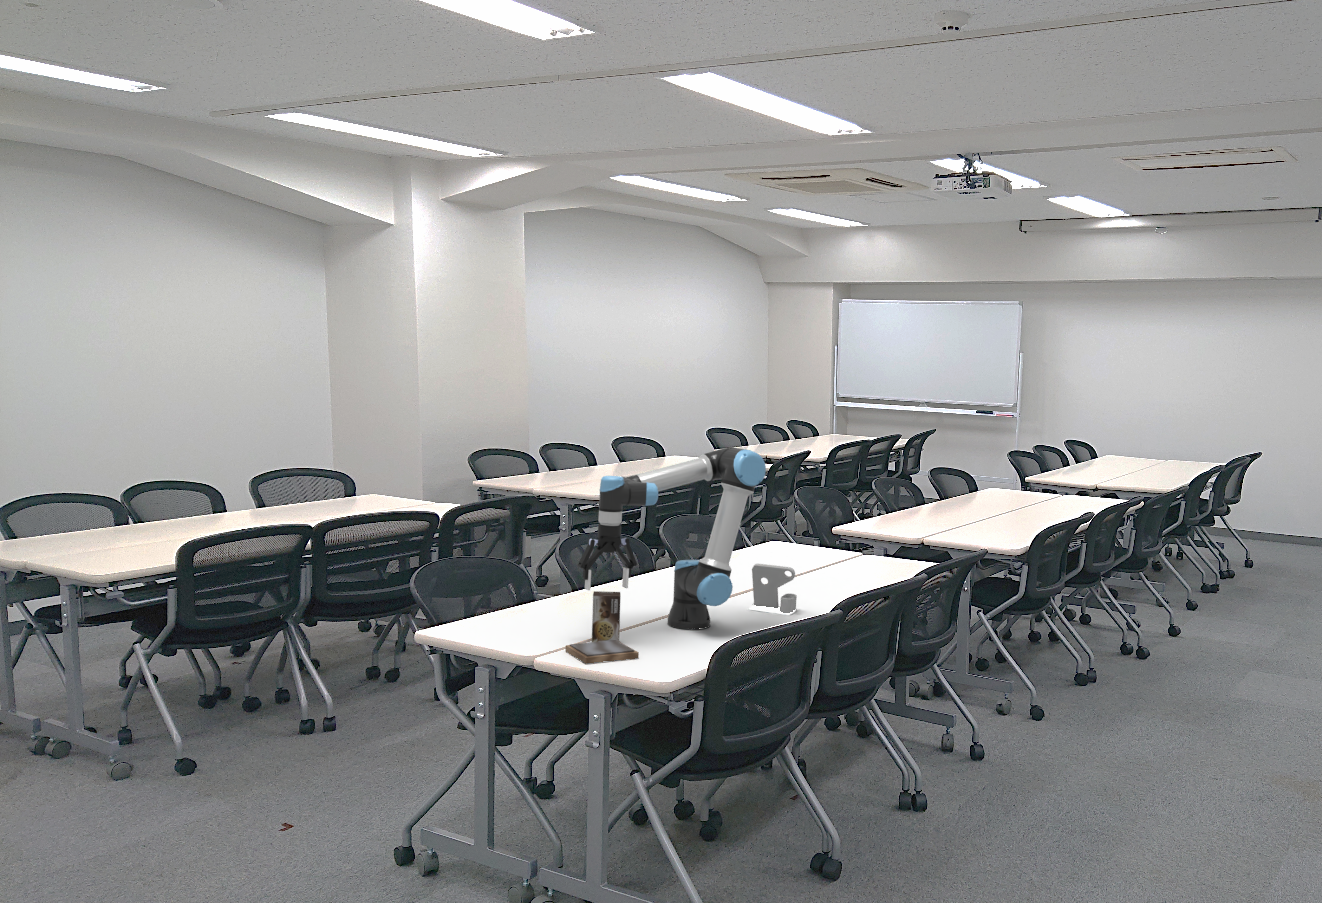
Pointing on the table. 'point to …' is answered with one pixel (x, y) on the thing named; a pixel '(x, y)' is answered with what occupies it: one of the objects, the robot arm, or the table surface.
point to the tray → (601, 651)
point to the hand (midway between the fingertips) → (606, 588)
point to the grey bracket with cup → (772, 587)
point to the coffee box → (606, 616)
